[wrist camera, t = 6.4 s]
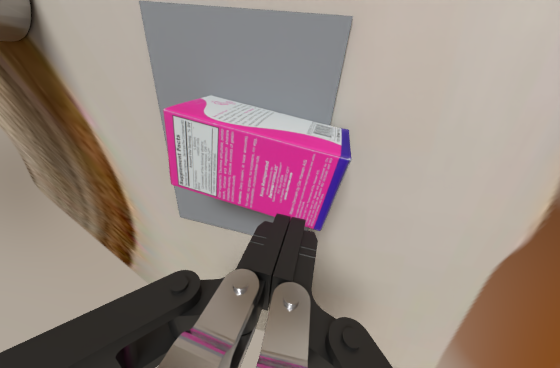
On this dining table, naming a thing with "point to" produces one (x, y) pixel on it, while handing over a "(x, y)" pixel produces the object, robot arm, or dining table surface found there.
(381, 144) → the dining table surface
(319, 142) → the supplement box
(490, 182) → the dining table surface
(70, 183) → the dining table surface
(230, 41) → the rubber mat
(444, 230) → the dining table surface
